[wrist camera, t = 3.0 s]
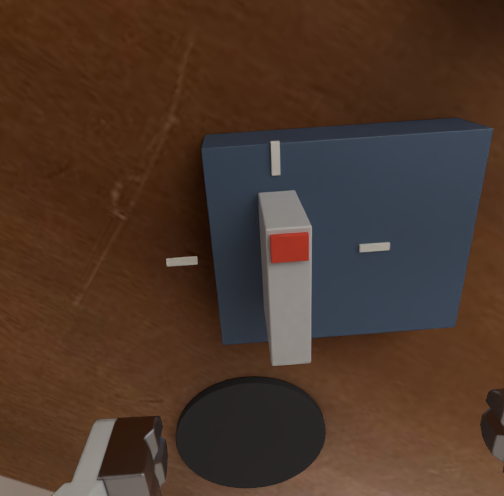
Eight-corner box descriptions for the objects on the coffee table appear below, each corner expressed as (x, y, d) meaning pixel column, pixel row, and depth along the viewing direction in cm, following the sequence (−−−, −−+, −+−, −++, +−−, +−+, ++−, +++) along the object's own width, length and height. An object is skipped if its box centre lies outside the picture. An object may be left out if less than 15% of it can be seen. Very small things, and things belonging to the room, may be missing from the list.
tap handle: (296, 307, 20) (312, 367, 16) (264, 309, 20) (272, 371, 16) (295, 189, 17) (313, 228, 14) (257, 192, 17) (265, 232, 14)
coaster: (186, 486, 30) (186, 493, 30) (166, 382, 26) (165, 390, 25) (322, 474, 30) (324, 482, 30) (325, 370, 26) (327, 377, 25)
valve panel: (187, 315, 24) (181, 352, 21) (159, 135, 19) (147, 150, 16) (429, 297, 24) (456, 330, 21) (457, 115, 19) (496, 126, 17)
